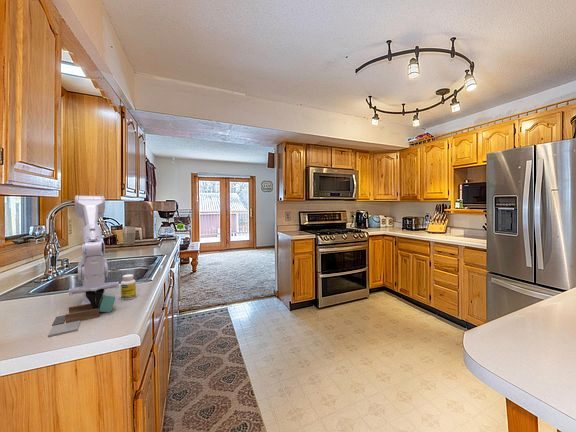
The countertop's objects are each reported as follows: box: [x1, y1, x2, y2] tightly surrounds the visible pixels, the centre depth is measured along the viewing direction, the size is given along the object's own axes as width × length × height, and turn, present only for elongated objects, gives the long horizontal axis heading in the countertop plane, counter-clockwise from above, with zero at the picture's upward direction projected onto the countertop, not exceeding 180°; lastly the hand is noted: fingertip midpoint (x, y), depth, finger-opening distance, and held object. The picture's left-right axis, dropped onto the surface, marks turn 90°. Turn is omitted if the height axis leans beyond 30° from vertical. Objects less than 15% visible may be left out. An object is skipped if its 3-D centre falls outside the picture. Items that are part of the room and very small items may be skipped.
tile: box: [47, 320, 81, 338], centre depth 81 cm, size 7×7×1 cm
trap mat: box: [51, 314, 66, 327], centre depth 87 cm, size 7×3×1 cm, turn 34°
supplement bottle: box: [120, 273, 137, 301], centre depth 108 cm, size 5×5×10 cm
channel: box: [64, 303, 100, 323], centre depth 91 cm, size 8×9×3 cm
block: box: [98, 294, 116, 313], centre depth 95 cm, size 4×4×5 cm
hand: (95, 310), depth 93 cm, fingers closed
